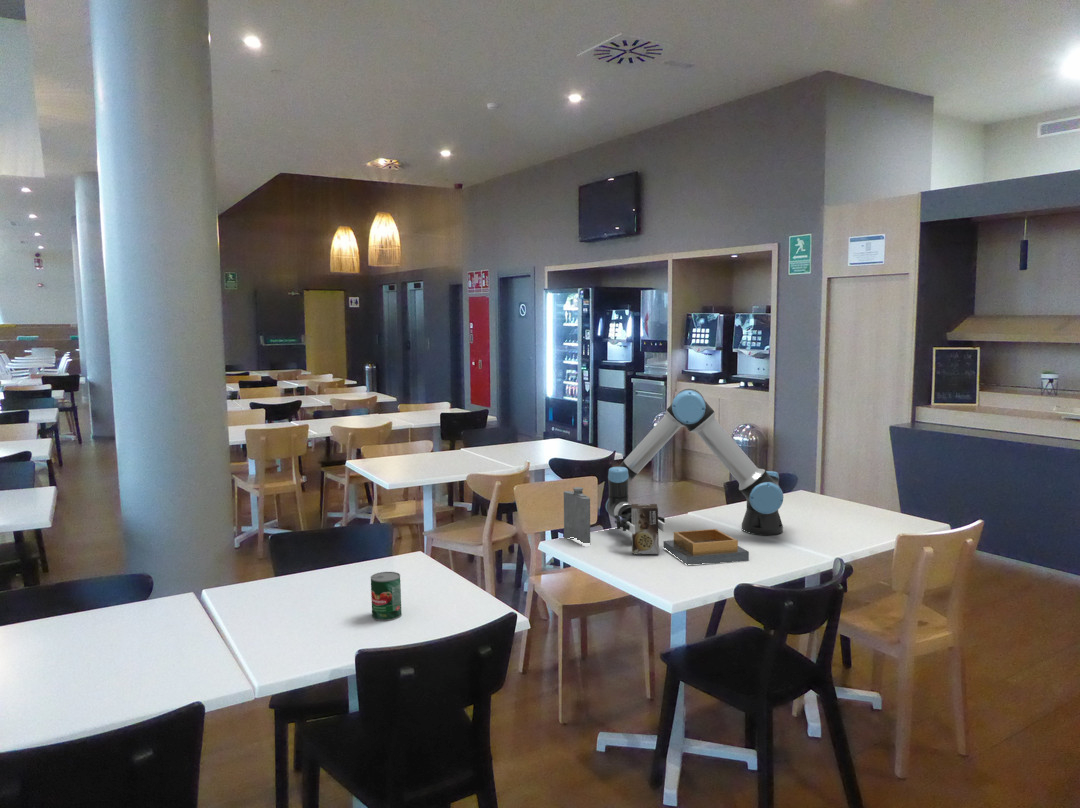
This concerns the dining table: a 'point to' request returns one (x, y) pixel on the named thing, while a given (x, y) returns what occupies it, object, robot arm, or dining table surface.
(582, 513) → the hip flask
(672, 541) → the square framed tray
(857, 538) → the dining table surface
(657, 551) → the coffee box
